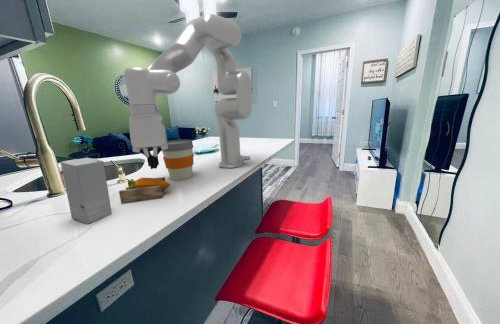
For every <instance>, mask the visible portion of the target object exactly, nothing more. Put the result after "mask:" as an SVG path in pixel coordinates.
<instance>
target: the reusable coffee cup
mask: <svg viewBox="0 0 500 324" xmlns="http://www.w3.org/2000/svg"><path fill="white" fill-rule="evenodd" d="M167 144H168V149H165V150H162V151H161V153H162V154H163V157H162V158H163V162H164V165H165V169H167V172H168V175H169V178H170V180H172V181H183V180H187V179H190V178H192V177H193V165H194V153H193V152H194V151H193V148H194V144H193V141H192V139H175V140H174V139H173V140H167ZM161 147H162V146H161Z"/></svg>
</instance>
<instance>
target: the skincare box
mask: <svg viewBox="0 0 500 324" xmlns="http://www.w3.org/2000/svg"><path fill="white" fill-rule="evenodd" d="M60 166H61V170H62V175H63V181H64V186H65V190H66V191H65V192H66V195H67V200H68V201H67V202H68V207H69V211H70V216H71V219H73V220H77V221H79V222H81V223H82V224H83V223H84V224H86V225H88V224H91V223H94V222H96V221H98V220H100V219H103V218H106V217H108V216H110V215H112V213H113V212H112V208H111V200H110V193H109V188H108V187H109V186H108V181H107V176H106V175H107V174H106V168H105V163H104V160H102V159H98V158H91V157H84V158H83V157H82V158H77V159H70V160H63V161H60Z"/></svg>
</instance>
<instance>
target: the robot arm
mask: <svg viewBox="0 0 500 324" xmlns="http://www.w3.org/2000/svg"><path fill="white" fill-rule="evenodd" d="M241 41H242V31H241V28H240V26H239V25H238V24H237V22H236V21H234V20H232V19H229V18H226V17H223V16H221V15H218V14H212V13H207V14H203V15H202V16H198V17H197V18H194V19H191V20H190V21H189V22H188V23H187V24H186V25H185V27H184V28H183V29H182V31H181V32H180V33H179V34H178V36H177V37H176V38H175V40H174V41H173V43H172V44H170V46H168V47H167V48H166V49H165V50H164V51H163V52H162V53H161V54H160V55H159V56H157V57H156V58H155V59H154V60H153V61H152V62H151V64H150V65H148V67H147V68H145V67H139V66H132V67H131V66H129V67H126V68H125V69H124V71H123V76H124V82H125V87H126V92H127V98H128V102H129V109H130V114H131V116H129V121H128V122H129V124H128V125H129V137H130V142H131V147H132V150H131V151H132V152H134V153H140V154H142V155H143V156H144V157H146V159H147V165H148V167H149V168H150V169H151V170H153V169H157V168H158V166H159V165H160V161H159V156H158V155H159V154H160V153H162V150H165V149H168V144H167V141H168V138H167V132H166V131H167V130H166V128H165V122H164V119H163V116H162V115H161V114H159V113H160V112H163V107H162V106H159V105H158V104H157V97H158V96H168V95H172V94H174V93H177V91H178V90H179V89H180V87H181V80H180V77H179V75H177V73H178V72H180V71H183V70H184V69H186V68H187V67H189V66H190V65H192V64H193V63H194V61H195V60H196V58H197V57H198V56H199V54H200V52H201V51H202V49H203V48H204V47H205V46H206V48H207V49H208V50H209V51H210V53H211V54H212V55H213V58H214V59H215V62H216V71H217V72H216V73H217V76H216V77H217V80H216V81H217V89H218V93H219V94H220V95H222V96H236V97H229V98H227V97H226V98H222V99H219V100H218V101H217V102H216V103H215V105H214V113H215V117H216V120H217V124H218V135H219V137H218V138H219V145H220V146H219V148H220V149H219V150H220V159H221V161H220V162H219V163H218V167H220V168H223V169H235V168H240V167H242V166H244V165H245V161H250V160H251V156H250V155H242V154H241V144H240V143H241V141H240V129H239V125H238V123H237V121H236V120H246V119H248V118H250V116H251V114H252V104H253V102H252V97H253V96H252V94H253V93H252V91H253V89H252V88H253V84H252V81H251V80H252V79H251V76H250V74H249V73H248V72H247V71H245V70H237V60H236V59H235V56H234V55H233V53H231V51H230V50H229V48H232V47H235V46H238V45H239V43H240V42H241ZM161 146H162V147H161ZM151 148H152V153H151V151H150V150H151Z"/></svg>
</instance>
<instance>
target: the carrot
mask: <svg viewBox="0 0 500 324" xmlns="http://www.w3.org/2000/svg"><path fill="white" fill-rule="evenodd" d="M156 178H157V177H155V178H154V177H140V178H138V179H136V180H137V181H136V180H134V179H132V178H130V179H128V180H127V183H128V182H130V183H132V184H131V185H132V186H130V187H129V186H128V187H127V186H126V187H125V190H128V189H133V188H135V187H136V188H144V187H152V186H160V185H161V187H162V190H163V189H165V188H166V189H167V188H169V187H170V186H171V183H170V182H168V181H166V180H165V181H164V180H161V179H156ZM133 183H134V184H133Z"/></svg>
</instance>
